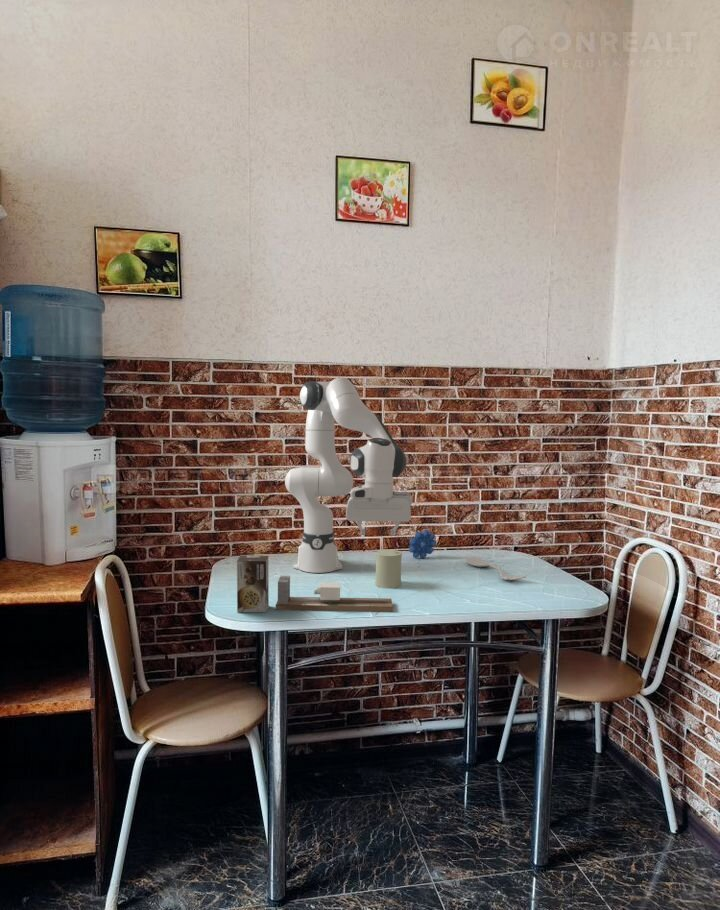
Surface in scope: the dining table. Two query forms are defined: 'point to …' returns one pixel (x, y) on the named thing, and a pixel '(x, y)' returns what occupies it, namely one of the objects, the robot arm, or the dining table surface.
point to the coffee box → (252, 584)
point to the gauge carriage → (328, 591)
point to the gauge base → (327, 601)
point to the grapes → (422, 544)
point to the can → (388, 568)
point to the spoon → (483, 563)
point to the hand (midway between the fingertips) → (377, 535)
